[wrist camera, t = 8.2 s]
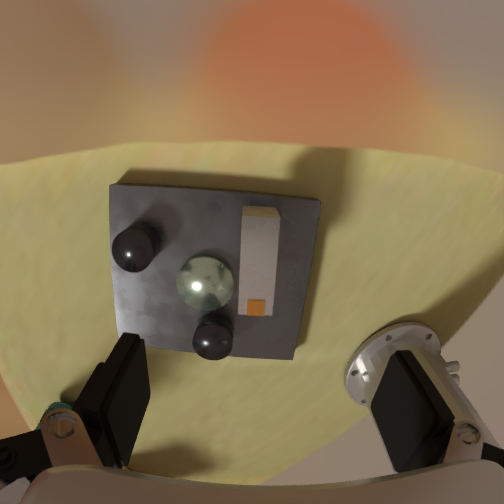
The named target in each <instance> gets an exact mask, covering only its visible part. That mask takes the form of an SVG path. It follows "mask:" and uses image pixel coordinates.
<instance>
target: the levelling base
mask: <svg viewBox="0 0 504 504" xmlns="http://www.w3.org/2000/svg"><path fill="white" fill-rule="evenodd" d="M243 206H261V207H276V209H277V211H278V213H279V216H280V230H279V242H278V255H277V267H276V279H275V290H274V301H273V312H272V316H269V315H264V316H248V315H241V314H238V302H239V276H240V251H241V227H242V210H243ZM320 206H321V201H320V200H318V199H316V198H307V197H299V196H290V195H281V194H272V193H262V192H252V191H241V190H229V189H217V188H204V187H190V186H174V185H156V184H134V183H114V184H111V185H109V221H110V251H111V268H112V281H113V293H114V303H115V312H116V321H117V329H118V336H119V339H120V337H121V335H122V334H123V333H124V332H128V333H134V334H139V336H140V338H141V339H144V341H145V346H148V347H154V348H161V349H169V350H176V351H184V352H193V353H197V354H198V355H199V356H201V357H203V358H205V359H208V360H220V359H223V358H225V357H226V356H233V357H246V358H261V359H280V360H293V356H294V352H295V347H296V342H297V337H298V332H299V328H300V323H301V317H302V312H303V307H304V302H305V297H306V291H307V286H308V280H309V275H310V269H311V263H312V257H313V251H314V245H315V239H316V232H317V226H318V219H319V213H320Z"/></svg>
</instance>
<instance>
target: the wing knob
mask: <svg viewBox="0 0 504 504" xmlns="http://www.w3.org/2000/svg"><path fill="white" fill-rule="evenodd" d="M279 230H280V216H279V213H278V211H277V209H276V207H261V206H243V210H242V227H241V251H240V276H239V302H238V314H241V315H248V316H264V315H269V316H272V312H273V301H274V290H275V279H276V267H277V255H278V242H279Z"/></svg>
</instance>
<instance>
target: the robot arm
mask: <svg viewBox="0 0 504 504" xmlns="http://www.w3.org/2000/svg"><path fill="white" fill-rule="evenodd" d="M440 353H441V346H440V341H439V339H438V337H437V335H436V334H435V333H434V331H433V330H432V329H431V328H429V327H428V326H426V325H424V324H423V323H418V322H403V323H397V324H394V325H392V326H389V327H386V328H384V329H383V330H381V331H379V332H377V333H376V334H374V335H373V336H371V337H370V338H368V339H367V340H366V341H365V342H364V343H363V344H362V345H361V346H360V347H359V348H358V349H357V351H356V352H355V353H354V354H353V356H352V357H351V359H350V361H349V363H348V365H347V368H346V371H345V377H344V380H345V386H346V389H347V392H348V394H349V396H350V398H351V399H352V400H354V401H355V402H356V403H358V404H360V405H363V406H366V407H368V408H369V411H370V413H371V416H372V418H373V421H374V423H375V425H376V428H377V430H378V433H379V436H380V438H381V441H382V443H383V446H384V449H385V451H386V454H387V456H388V459H389V462H390V464H391V467H392V470H393V472H394V474H392V475H386V476H381V477H375V478H368V479H361V480H354V481H345V482H336V483H326V484H311V485H289V486H287V485H286V486H260V485H234V484H220V483H209V482H199V481H191V480H183V479H176V478H169V477H163V476H157V475H151V474H146V473H140V472H135V471H129V470H124V469H122V467H123V466H124V467H127V466H128V463H129V460H130V457H131V454H132V451H133V447H134V444H135V441H136V438H137V435H138V432H139V429H140V426H141V423H142V420H143V417H144V414H145V411H146V408H147V406H148V403H149V400H150V385H149V377H148V369H147V360H146V350H145V341H144V339H141V338H140V336H139V334H134V333H128V332H124V333H123V334H122V335H121V337H120V339H119V340H118V342H117V344H116V345H115V347H114V348H113V350H112V352H111V354H110V355H109V357H108V359H107V360H106V362H105V363H103V362H101V363H99V364H98V365H97V367H96V368H95V370H94V371H93V373H92V375H91V376H90V378H89V380H88V382H87V383H86V385H85V387H84V388H83V390H82V392H81V393H80V395H79V397H78V399H77V400H76V402H75V404H74V406H73V407H72V409H71V410H70V409H64V408H59V409H54V410H52V411H49V412H48V413H47V414H45V416H44V417H43V418H42V420H41V424H40V425H41V428H40V429H37V430H34V431H30V432H27V433H23V434H20V435H17V436H13V437H9V438H5V439H1V440H0V504H18V503H19V504H504V450H503V449H501V447H500V446H499V444H498V442H497V441H496V439H495V438H494V436H493V435H492V434H491V432H490V430H489V429H488V427H487V426H486V424H485V423H484V422H483V420H482V419H481V417H480V416H479V414H478V413H477V411H476V410H475V408H474V407H473V405H472V404H471V403H470V401H469V400H468V398H467V397H466V395H465V394H464V393H463V391H462V390H461V389H460V387H459V386H458V385H459V381H460V379H459V376H458V374H449V372H456V371H458V370H459V368H460V364H459V362H458V361H452V362H447V363H446V361H445V360H444V359H443V358H442V356H441V355H440Z"/></svg>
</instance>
